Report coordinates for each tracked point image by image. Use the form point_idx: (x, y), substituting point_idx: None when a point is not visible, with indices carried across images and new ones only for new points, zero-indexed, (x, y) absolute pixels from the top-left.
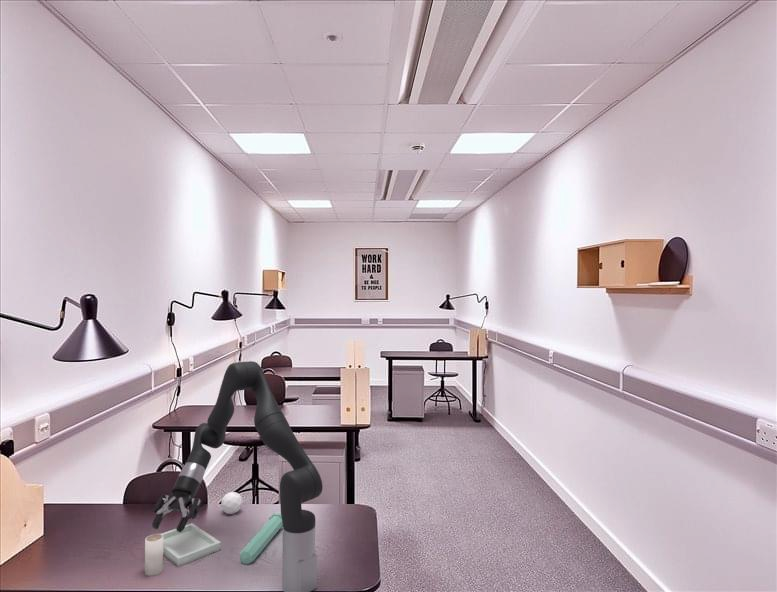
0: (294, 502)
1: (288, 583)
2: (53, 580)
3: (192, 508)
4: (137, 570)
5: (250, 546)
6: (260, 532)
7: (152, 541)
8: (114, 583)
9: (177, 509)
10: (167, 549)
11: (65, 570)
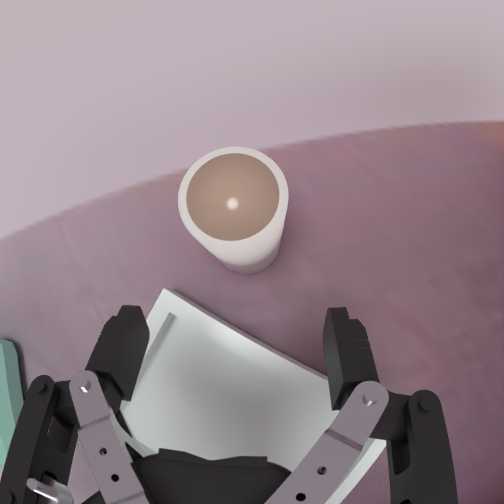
0: None
1: None
2: (479, 141)
3: (30, 428)
4: (313, 230)
5: None
6: (2, 451)
7: (212, 156)
8: (325, 147)
9: (177, 452)
10: (263, 349)
11: (498, 185)
